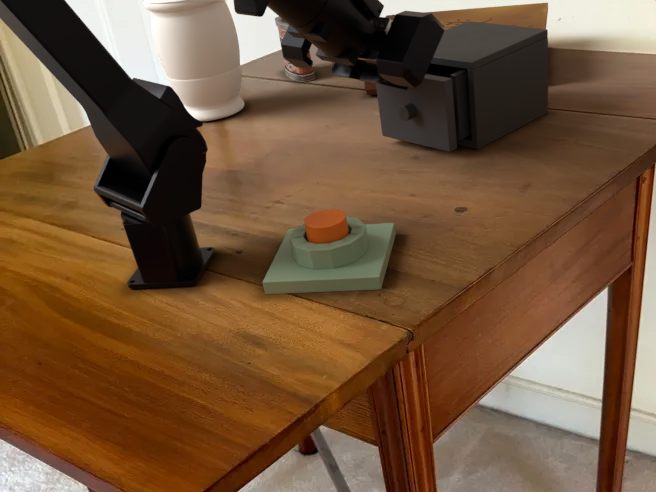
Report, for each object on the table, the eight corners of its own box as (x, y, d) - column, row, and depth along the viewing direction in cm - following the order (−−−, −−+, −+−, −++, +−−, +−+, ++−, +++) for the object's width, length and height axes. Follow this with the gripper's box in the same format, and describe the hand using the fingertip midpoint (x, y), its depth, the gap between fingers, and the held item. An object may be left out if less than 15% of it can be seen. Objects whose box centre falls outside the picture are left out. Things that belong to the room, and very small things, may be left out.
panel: (381, 289, 68) (376, 257, 66) (265, 294, 69) (257, 262, 68) (396, 234, 75) (392, 203, 74) (291, 240, 77) (284, 210, 75)
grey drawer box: (477, 149, 89) (472, 62, 84) (402, 132, 97) (393, 50, 91) (548, 112, 96) (547, 29, 90) (472, 98, 103) (468, 20, 97)
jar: (264, 98, 114) (239, -22, 105) (233, 124, 106) (203, -2, 97) (196, 100, 117) (166, -16, 108) (161, 126, 109) (126, 4, 100)
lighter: (280, 71, 123) (266, -1, 117) (301, 66, 124) (288, -6, 118) (298, 83, 117) (284, 7, 111) (320, 77, 118) (307, 2, 112)
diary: (366, 98, 108) (360, 52, 105) (391, 57, 122) (386, 15, 119) (544, 86, 103) (543, 37, 100) (548, 44, 118) (548, 0, 114)
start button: (345, 245, 69) (341, 226, 68) (303, 247, 70) (300, 228, 69) (352, 226, 72) (349, 207, 71) (312, 228, 73) (308, 210, 72)
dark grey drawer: (442, 156, 87) (436, 85, 82) (374, 139, 93) (365, 72, 89) (517, 117, 93) (516, 49, 89) (449, 104, 100) (444, 40, 95)
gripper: (418, -89, 68) (508, 19, 80) (279, -88, 79) (376, 6, 92) (364, 39, 69) (460, 126, 81) (234, 21, 80) (336, 100, 92)
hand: (406, 85), depth 87 cm, fingers closed, pressing on dark grey drawer
